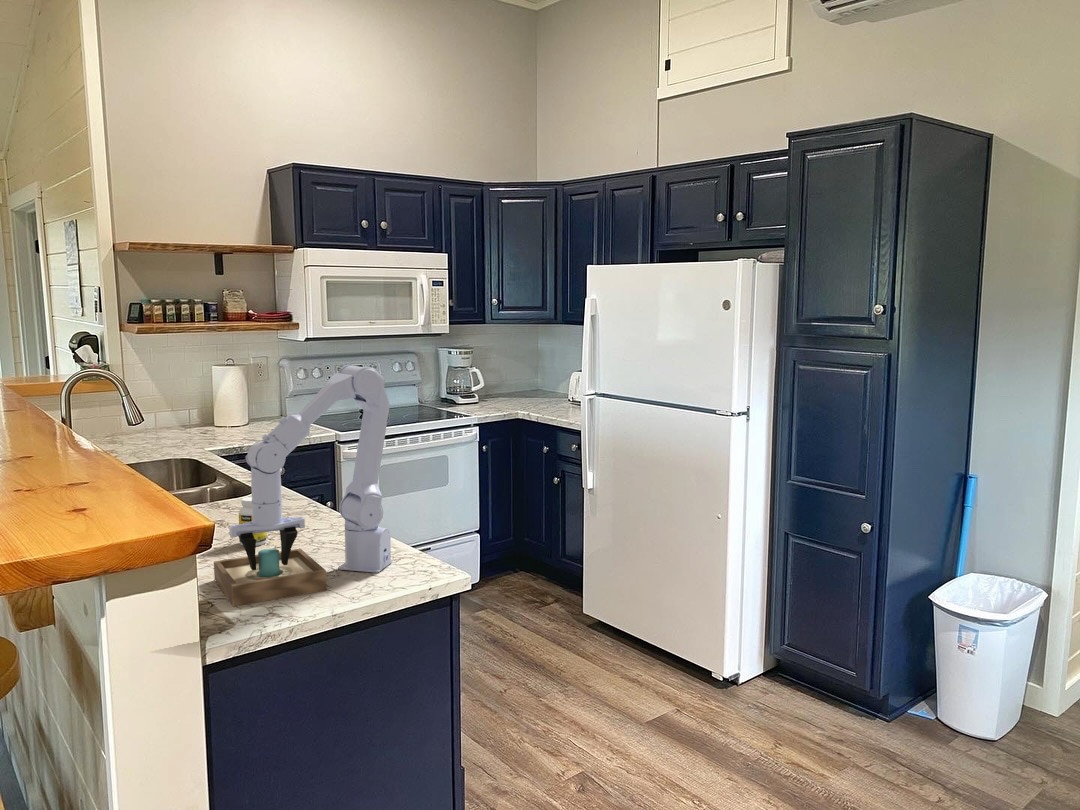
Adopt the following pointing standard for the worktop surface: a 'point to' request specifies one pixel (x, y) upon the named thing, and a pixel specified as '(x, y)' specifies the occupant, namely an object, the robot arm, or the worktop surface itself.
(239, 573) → the walnut box
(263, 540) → the pill bottle
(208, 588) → the worktop surface
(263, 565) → the peg
